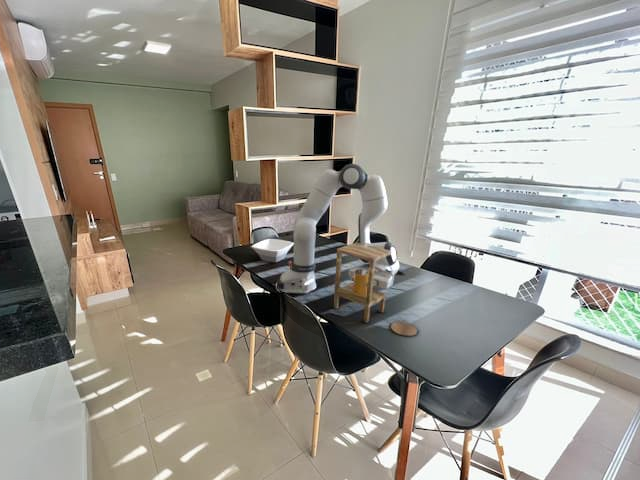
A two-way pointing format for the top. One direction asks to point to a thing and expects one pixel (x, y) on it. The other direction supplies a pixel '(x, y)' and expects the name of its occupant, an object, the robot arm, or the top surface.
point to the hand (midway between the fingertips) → (359, 282)
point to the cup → (360, 282)
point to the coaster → (403, 329)
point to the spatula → (397, 271)
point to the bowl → (272, 249)
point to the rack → (372, 295)
